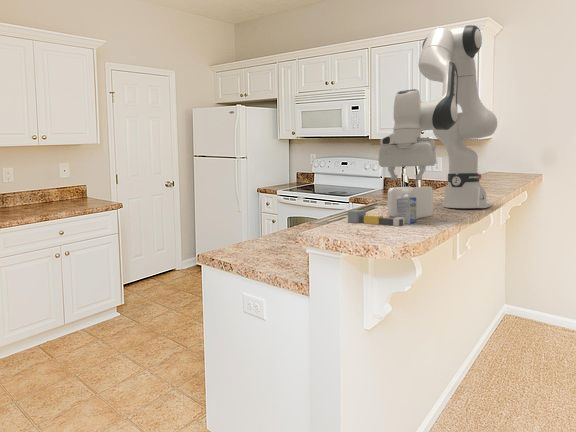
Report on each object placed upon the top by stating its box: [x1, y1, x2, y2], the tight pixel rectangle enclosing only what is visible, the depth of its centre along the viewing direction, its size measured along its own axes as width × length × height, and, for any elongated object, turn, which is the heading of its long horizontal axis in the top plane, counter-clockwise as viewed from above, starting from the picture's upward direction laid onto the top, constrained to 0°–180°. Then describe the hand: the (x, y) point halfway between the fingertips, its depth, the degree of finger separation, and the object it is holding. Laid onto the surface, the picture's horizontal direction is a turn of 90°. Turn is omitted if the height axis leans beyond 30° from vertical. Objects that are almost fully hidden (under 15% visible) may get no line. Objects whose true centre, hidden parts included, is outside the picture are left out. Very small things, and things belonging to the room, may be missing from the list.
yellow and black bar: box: [359, 214, 405, 227], centre depth 155 cm, size 4×16×3 cm, turn 44°
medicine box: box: [396, 197, 417, 225], centre depth 157 cm, size 8×4×9 cm, turn 148°
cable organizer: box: [387, 186, 434, 220], centre depth 173 cm, size 15×11×12 cm
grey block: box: [347, 209, 367, 224], centre depth 162 cm, size 5×5×4 cm
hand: (406, 180), depth 156 cm, fingers open, 8 cm apart
